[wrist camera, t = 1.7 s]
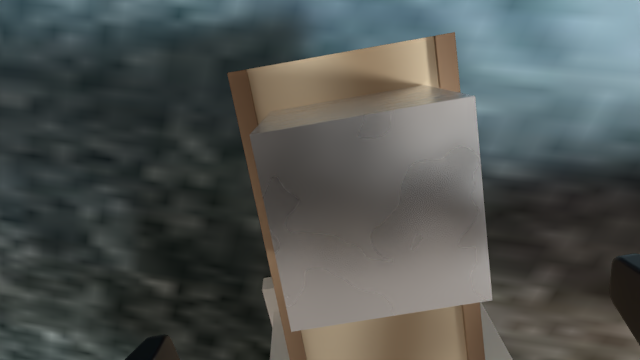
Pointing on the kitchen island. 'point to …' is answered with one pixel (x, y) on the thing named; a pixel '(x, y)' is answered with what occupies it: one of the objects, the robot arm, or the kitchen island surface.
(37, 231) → the kitchen island surface
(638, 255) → the robot arm
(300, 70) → the beam
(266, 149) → the steel block
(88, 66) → the kitchen island surface
